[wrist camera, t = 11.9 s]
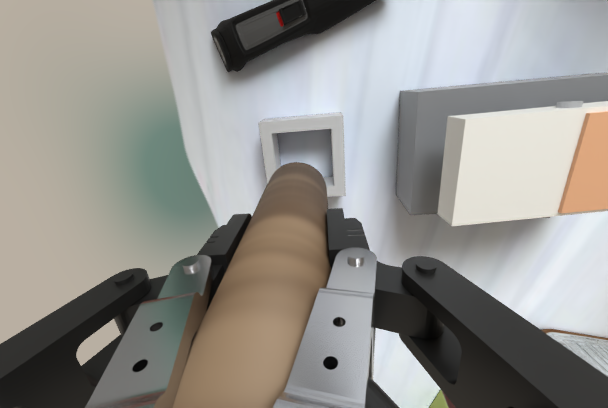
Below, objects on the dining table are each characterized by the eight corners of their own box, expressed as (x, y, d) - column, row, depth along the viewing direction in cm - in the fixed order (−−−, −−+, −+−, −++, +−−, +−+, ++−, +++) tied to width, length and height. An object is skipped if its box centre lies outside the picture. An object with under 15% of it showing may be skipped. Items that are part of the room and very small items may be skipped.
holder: (264, 118, 27) (258, 122, 24) (340, 112, 26) (343, 115, 23) (274, 189, 29) (269, 200, 27) (343, 185, 29) (345, 195, 26)
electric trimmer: (397, 3, 23) (409, -10, 20) (230, 76, 26) (219, 74, 23) (385, -51, 22) (396, -73, 19) (211, 32, 24) (196, 23, 21)
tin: (511, 338, 36) (564, 407, 28) (522, 319, 34) (582, 387, 27) (625, 356, 36) (710, 430, 28) (641, 338, 35) (733, 410, 27)
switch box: (400, 90, 25) (428, 92, 19) (591, 73, 24) (692, 68, 17) (395, 194, 29) (417, 225, 22) (560, 184, 28) (634, 214, 21)
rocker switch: (448, 111, 18) (469, 114, 16) (662, 91, 18) (710, 91, 16) (437, 217, 21) (453, 231, 19) (621, 199, 21) (657, 211, 19)
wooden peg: (264, 164, 17) (80, 457, 4) (325, 160, 16) (346, 461, 4) (272, 218, 18) (159, 560, 5) (328, 215, 18) (352, 569, 5)
